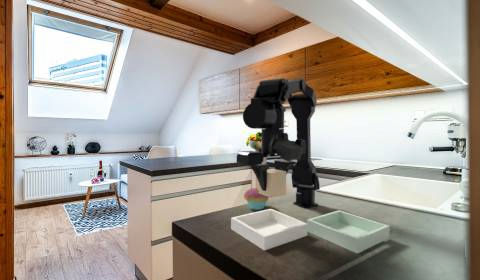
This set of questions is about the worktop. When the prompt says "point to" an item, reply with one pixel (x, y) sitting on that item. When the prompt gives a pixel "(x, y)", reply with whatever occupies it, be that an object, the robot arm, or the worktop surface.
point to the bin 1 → (269, 228)
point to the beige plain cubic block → (274, 183)
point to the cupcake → (255, 198)
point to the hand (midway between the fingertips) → (272, 189)
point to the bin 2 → (349, 230)
